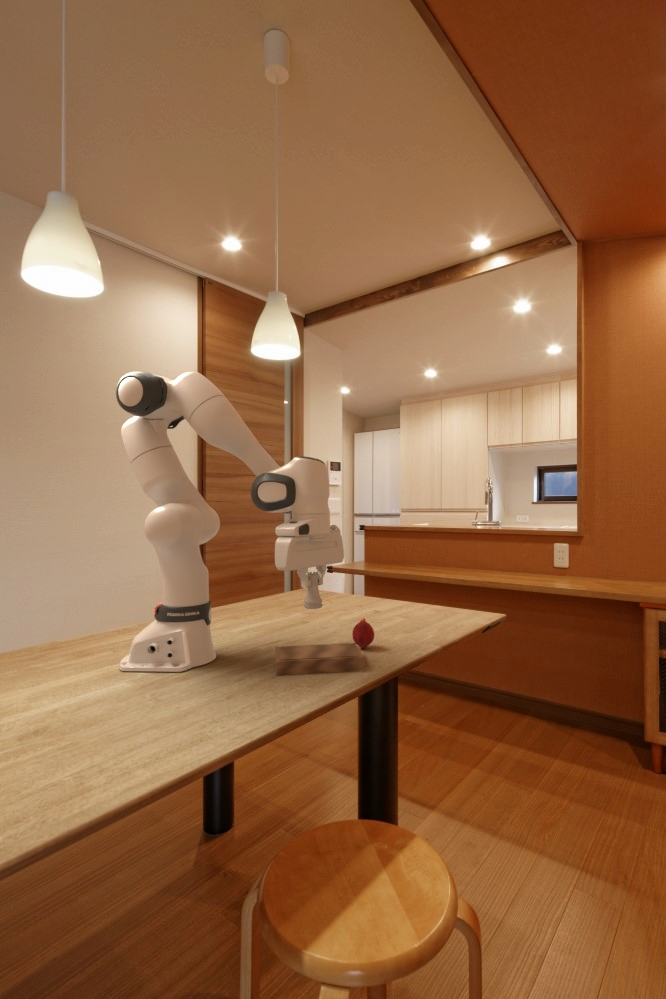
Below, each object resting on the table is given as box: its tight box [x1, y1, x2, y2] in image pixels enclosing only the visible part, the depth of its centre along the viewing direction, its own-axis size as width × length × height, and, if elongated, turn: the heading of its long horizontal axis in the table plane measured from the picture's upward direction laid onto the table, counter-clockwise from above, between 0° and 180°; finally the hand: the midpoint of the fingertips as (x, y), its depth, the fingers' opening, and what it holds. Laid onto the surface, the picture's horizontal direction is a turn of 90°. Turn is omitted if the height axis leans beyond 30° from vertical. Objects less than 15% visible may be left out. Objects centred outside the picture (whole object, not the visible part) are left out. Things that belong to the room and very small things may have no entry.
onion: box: [352, 617, 375, 650], centre depth 130 cm, size 6×6×8 cm
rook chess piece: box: [303, 571, 324, 610], centre depth 114 cm, size 4×4×8 cm
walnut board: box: [275, 642, 365, 676], centre depth 118 cm, size 20×12×3 cm, turn 97°
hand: (312, 586), depth 114 cm, fingers closed on rook chess piece, 3 cm apart
